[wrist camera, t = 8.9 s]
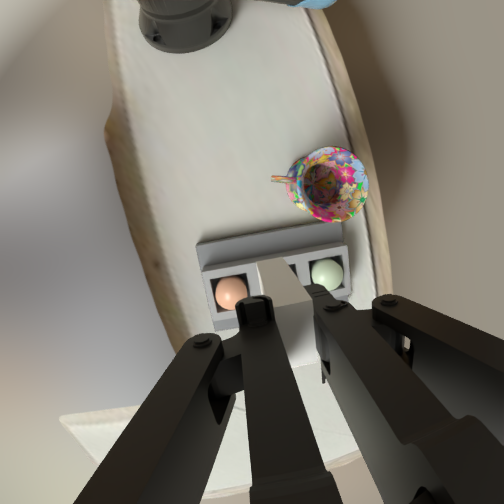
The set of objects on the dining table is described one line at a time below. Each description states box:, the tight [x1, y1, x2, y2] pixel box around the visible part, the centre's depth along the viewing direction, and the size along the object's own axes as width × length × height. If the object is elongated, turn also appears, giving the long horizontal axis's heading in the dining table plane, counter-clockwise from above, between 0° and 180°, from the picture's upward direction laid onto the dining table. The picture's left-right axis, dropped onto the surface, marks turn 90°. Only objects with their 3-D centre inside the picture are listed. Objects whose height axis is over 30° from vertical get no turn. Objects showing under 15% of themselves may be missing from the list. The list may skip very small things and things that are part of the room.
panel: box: [196, 221, 351, 332], centre depth 45 cm, size 14×22×5 cm, turn 100°
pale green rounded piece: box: [309, 257, 343, 291], centre depth 44 cm, size 4×4×4 cm
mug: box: [271, 146, 369, 223], centre depth 40 cm, size 12×9×11 cm
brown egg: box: [216, 274, 247, 310], centre depth 44 cm, size 4×4×4 cm
